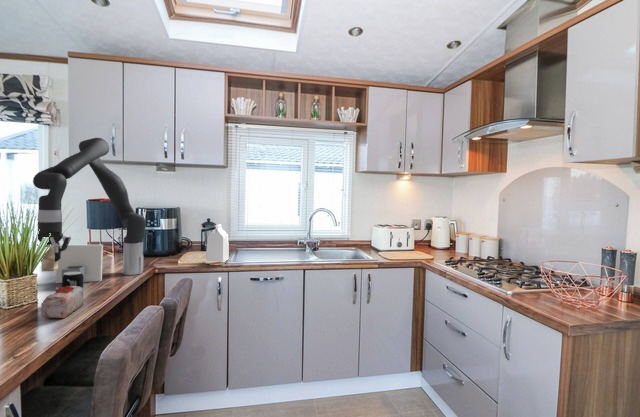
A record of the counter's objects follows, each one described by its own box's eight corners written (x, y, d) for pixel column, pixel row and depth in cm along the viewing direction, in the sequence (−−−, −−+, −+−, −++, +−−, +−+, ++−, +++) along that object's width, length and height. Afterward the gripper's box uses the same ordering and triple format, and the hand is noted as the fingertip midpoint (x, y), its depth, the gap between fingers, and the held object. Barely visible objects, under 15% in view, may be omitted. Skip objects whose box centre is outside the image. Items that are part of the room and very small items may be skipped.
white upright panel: (101, 279, 150) (102, 244, 150) (94, 286, 140) (95, 248, 139) (57, 281, 144) (58, 244, 143) (45, 288, 133) (46, 248, 132)
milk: (222, 265, 193) (224, 226, 192) (205, 264, 193) (206, 225, 192) (228, 262, 205) (230, 224, 204) (212, 261, 205) (213, 223, 204)
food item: (65, 320, 103) (66, 292, 103) (38, 321, 101) (38, 292, 101) (85, 306, 116) (86, 281, 116) (61, 307, 114) (62, 281, 114)
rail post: (58, 268, 127) (58, 243, 127) (53, 271, 124) (53, 244, 123) (46, 269, 126) (46, 243, 125) (41, 271, 122) (41, 245, 122)
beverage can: (59, 306, 115) (60, 275, 114) (64, 300, 120) (65, 271, 120) (80, 304, 118) (81, 274, 117) (84, 298, 124) (85, 270, 123)
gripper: (74, 220, 130) (74, 258, 131) (33, 219, 125) (32, 260, 125) (67, 221, 123) (67, 262, 124) (23, 221, 118) (22, 264, 118)
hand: (49, 261), depth 125 cm, fingers closed on rail post, 4 cm apart
